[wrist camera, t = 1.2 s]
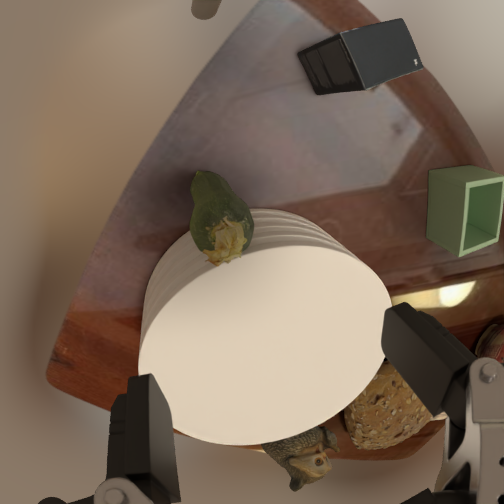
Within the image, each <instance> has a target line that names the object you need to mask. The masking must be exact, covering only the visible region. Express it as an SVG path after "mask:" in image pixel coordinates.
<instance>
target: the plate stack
mask: <svg viewBox="0 0 504 504" xmlns="http://www.w3.org/2000/svg"><path fill="white" fill-rule="evenodd" d="M249 210H250V212H251V215H252V218H253V221H254V232H253V237H252V240H251V243H250V245H249V247H248V248H247V249H246V250H245V251H243V252H242V254H241V258H239V257H237V258H236V257H235V258H233V260H231V262H230V263H229V264H228V263H225V261H223V262H222V263H221V264H220V266H218V267H217V266H215V265H214V264H212V263H211V262H209V261H207V262H205V261H206V260H208V259H209V257H208V256H207V255H206V254H203V252H201V251H200V250H199V249H198V247H197V246H196V244H195V242H194V240H193V238H192V236H191V233H190V231H188V232H187V233H185V234H184V235H183V236H182V237H180V238H179V239H178V240H177V241H176V242H175V243H174V244H173V245H172V246H171V247H170V248H169V249H168V250H167V251H166V252H165V254H164V255H163V256H162V258H161V259H160V261H159V262H158V264H157V265H156V267H155V269H154V271H153V273H152V275H151V277H150V280H149V282H148V286H147V289H146V294H145V300H144V309H143V318H142V327H141V338H140V351H139V362H138V371H139V375H143V374H149V373H152V374H153V375H154V377H155V379H156V381H157V383H158V385H159V387H160V389H161V391H162V392H163V394H164V396H165V398H166V400H167V402H168V404H169V407H170V410H171V415H172V423H173V428H175V429H177V430H178V431H180V432H182V433H184V434H186V435H189V436H191V437H194V438H196V439H200V440H203V441H207V442H212V443H217V444H225V445H253V444H262V443H268V442H273V441H277V440H281V439H285V438H288V437H291V436H294V435H297V434H300V433H302V432H304V431H307V430H309V429H311V428H313V427H315V426H317V425H319V424H321V423H323V422H324V421H326V420H328V419H329V418H331V417H332V416H334V415H335V414H337V413H338V412H340V411H341V410H342V409H344V408H345V407H346V406H347V405H348V404H350V403H351V402H352V401H353V400H354V399H355V398H356V397H357V396H358V395H359V394H360V393H361V392H362V391H363V390H364V389H365V387H366V386H367V385H368V384H369V383H370V381H371V380H372V379H373V377H374V376H375V374H376V373H377V371H378V369H379V368H380V366H381V364H382V362H383V360H384V358H385V355H384V353H383V351H382V348H381V336H382V328H383V320H384V312H385V310H386V309H387V308H390V307H392V304H391V300H390V297H389V294H388V292H387V290H386V288H385V286H384V284H383V283H382V281H381V280H380V278H379V277H378V276H377V275H376V274H375V272H373V271H372V270H371V269H370V268H369V267H368V266H367V265H366V264H364V263H363V262H362V261H361V260H359V259H358V258H357V257H356V256H355V255H353V254H352V253H351V252H350V251H349V250H347V249H346V248H345V247H344V246H342V245H341V244H340V243H339V242H337V241H336V240H335V239H334V238H332V237H331V236H330V235H329V234H327V233H326V232H325V231H324V230H322V229H321V228H320V227H319V226H317V225H316V224H314V223H313V222H311V221H309V220H307V219H305V218H303V217H301V216H299V215H296V214H293V213H290V212H286V211H281V210H276V209H264V208H257V209H249Z"/></svg>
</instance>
